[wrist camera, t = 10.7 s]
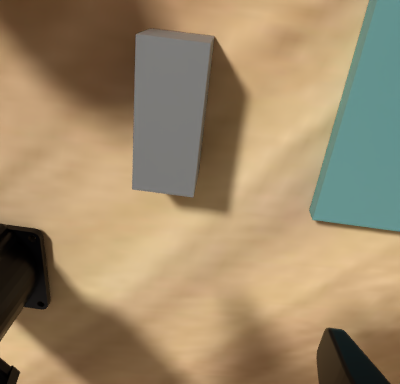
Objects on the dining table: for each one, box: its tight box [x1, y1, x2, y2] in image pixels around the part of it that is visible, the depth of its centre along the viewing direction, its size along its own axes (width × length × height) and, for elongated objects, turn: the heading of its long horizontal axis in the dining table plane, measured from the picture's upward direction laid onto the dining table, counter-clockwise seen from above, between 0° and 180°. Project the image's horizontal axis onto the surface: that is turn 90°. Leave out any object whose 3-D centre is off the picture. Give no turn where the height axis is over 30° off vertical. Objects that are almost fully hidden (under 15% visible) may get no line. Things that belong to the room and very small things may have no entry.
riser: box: [132, 28, 214, 197], centre depth 18 cm, size 7×3×3 cm, turn 174°
